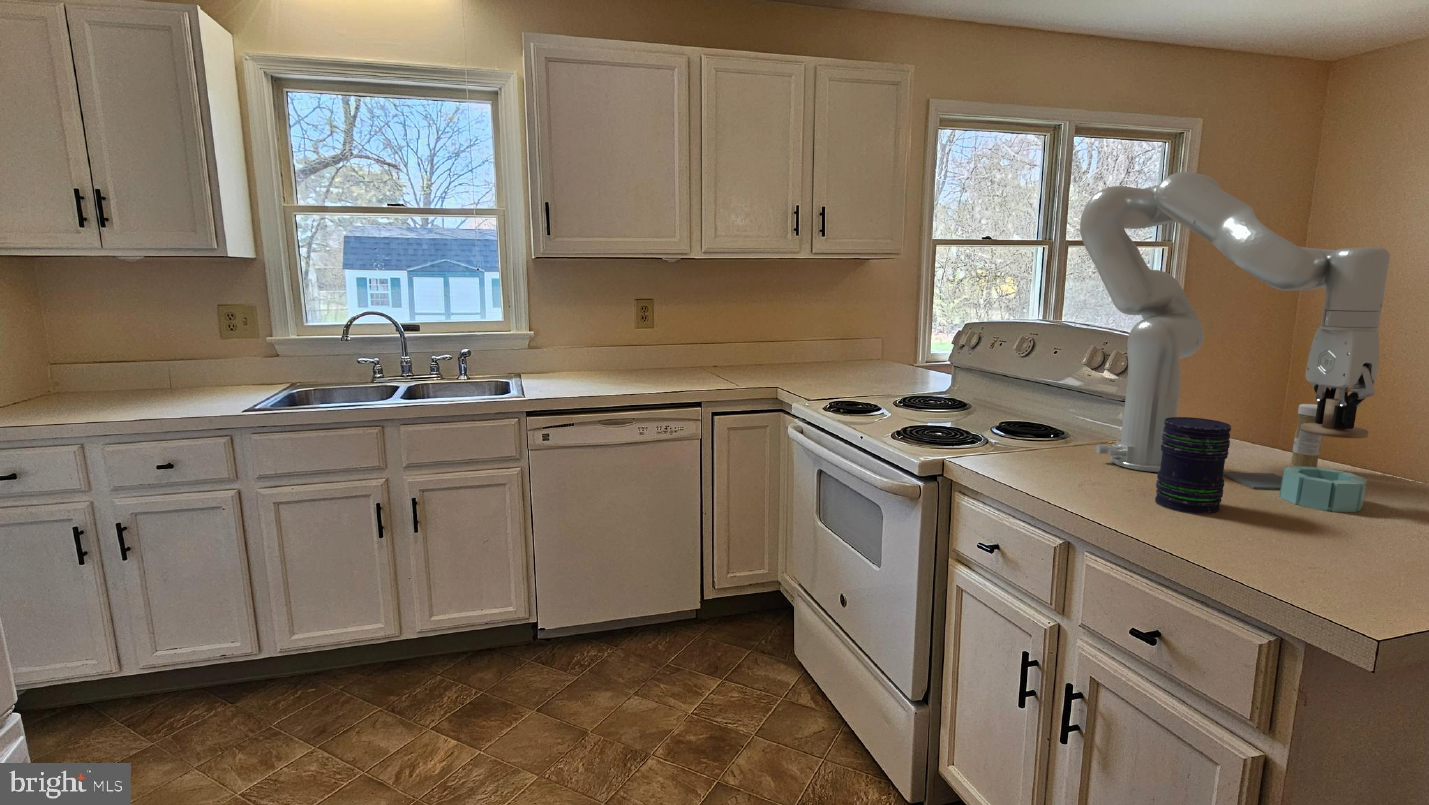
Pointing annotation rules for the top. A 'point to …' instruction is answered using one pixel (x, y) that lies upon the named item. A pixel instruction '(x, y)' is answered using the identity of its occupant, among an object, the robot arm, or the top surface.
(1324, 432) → the lid
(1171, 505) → the storage jar
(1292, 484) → the bowl
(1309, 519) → the top surface
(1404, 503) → the top surface
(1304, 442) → the sprinkles bottle
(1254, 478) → the mat
